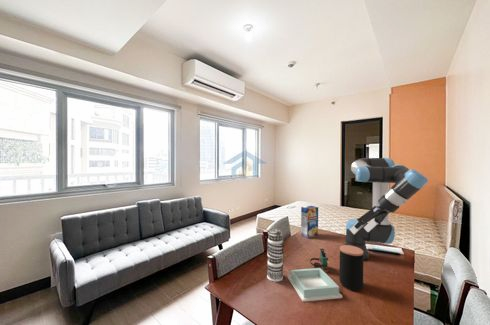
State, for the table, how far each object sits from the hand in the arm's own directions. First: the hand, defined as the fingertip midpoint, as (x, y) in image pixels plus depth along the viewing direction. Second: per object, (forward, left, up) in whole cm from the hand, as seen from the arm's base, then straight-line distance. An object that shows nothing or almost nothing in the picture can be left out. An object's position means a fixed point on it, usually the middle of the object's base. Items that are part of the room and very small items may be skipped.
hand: (359, 230), depth 100 cm
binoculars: (+9, -21, -29) cm, 37 cm away
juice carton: (-10, -72, -29) cm, 78 cm away
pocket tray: (+21, -5, -28) cm, 36 cm away
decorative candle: (+37, -16, -29) cm, 50 cm away
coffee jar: (+1, -4, -29) cm, 29 cm away
